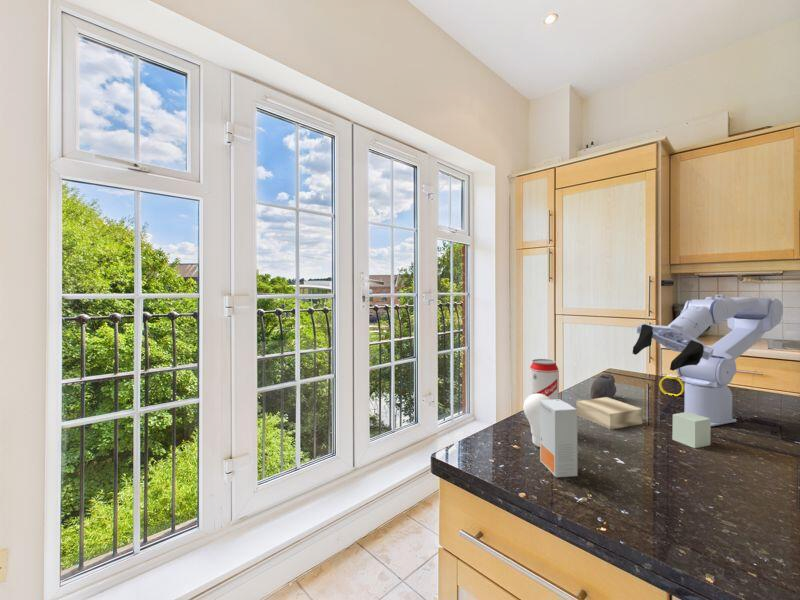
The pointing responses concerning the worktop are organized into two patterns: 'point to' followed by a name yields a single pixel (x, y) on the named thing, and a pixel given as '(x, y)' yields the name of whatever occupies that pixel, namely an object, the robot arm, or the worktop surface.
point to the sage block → (691, 429)
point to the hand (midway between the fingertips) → (652, 358)
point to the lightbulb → (534, 415)
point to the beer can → (544, 378)
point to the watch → (671, 378)
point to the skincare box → (558, 437)
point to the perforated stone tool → (603, 387)
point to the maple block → (609, 412)
